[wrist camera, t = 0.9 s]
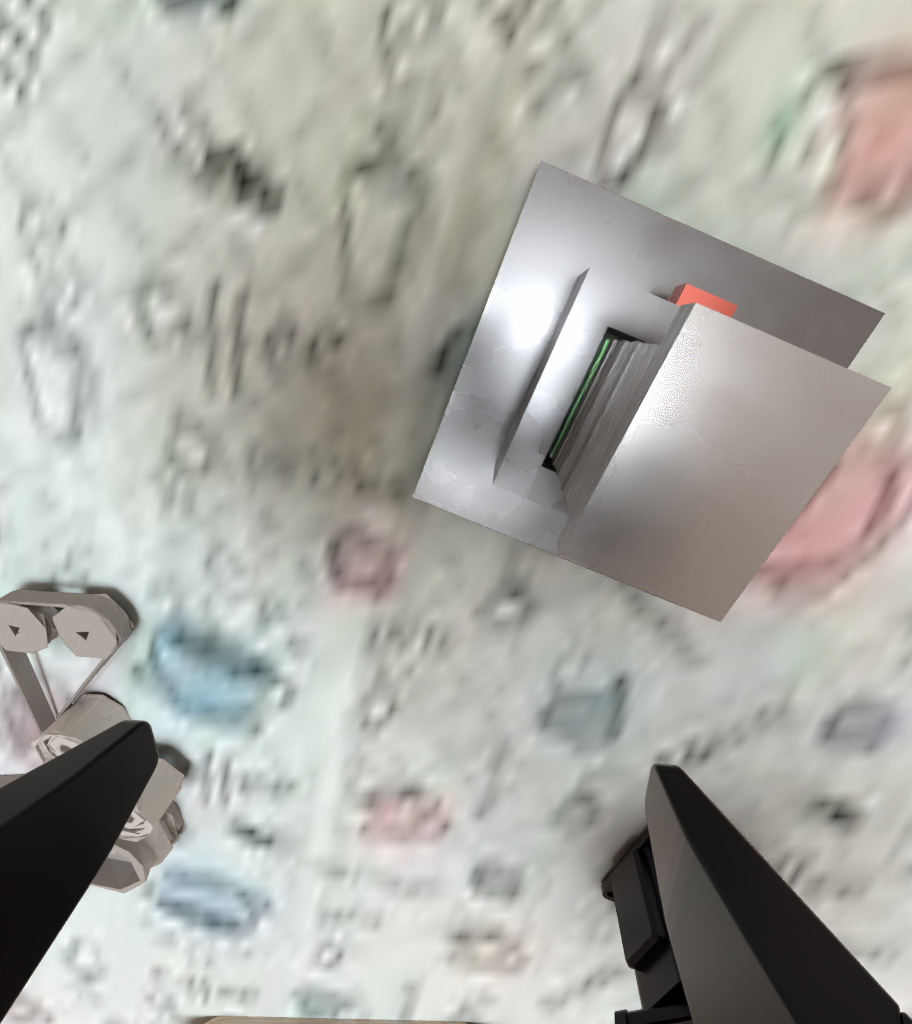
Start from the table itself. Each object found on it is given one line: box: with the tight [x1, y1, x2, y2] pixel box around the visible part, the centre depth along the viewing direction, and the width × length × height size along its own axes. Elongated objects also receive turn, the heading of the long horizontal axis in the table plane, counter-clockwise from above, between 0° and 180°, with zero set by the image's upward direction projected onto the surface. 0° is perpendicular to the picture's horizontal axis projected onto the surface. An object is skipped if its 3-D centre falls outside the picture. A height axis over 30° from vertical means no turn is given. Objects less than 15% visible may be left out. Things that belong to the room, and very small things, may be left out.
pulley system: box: [0, 589, 184, 893], centre depth 28 cm, size 27×5×15 cm
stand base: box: [413, 161, 885, 607], centre depth 17 cm, size 12×12×4 cm
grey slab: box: [548, 303, 891, 622], centre depth 14 cm, size 4×6×8 cm
